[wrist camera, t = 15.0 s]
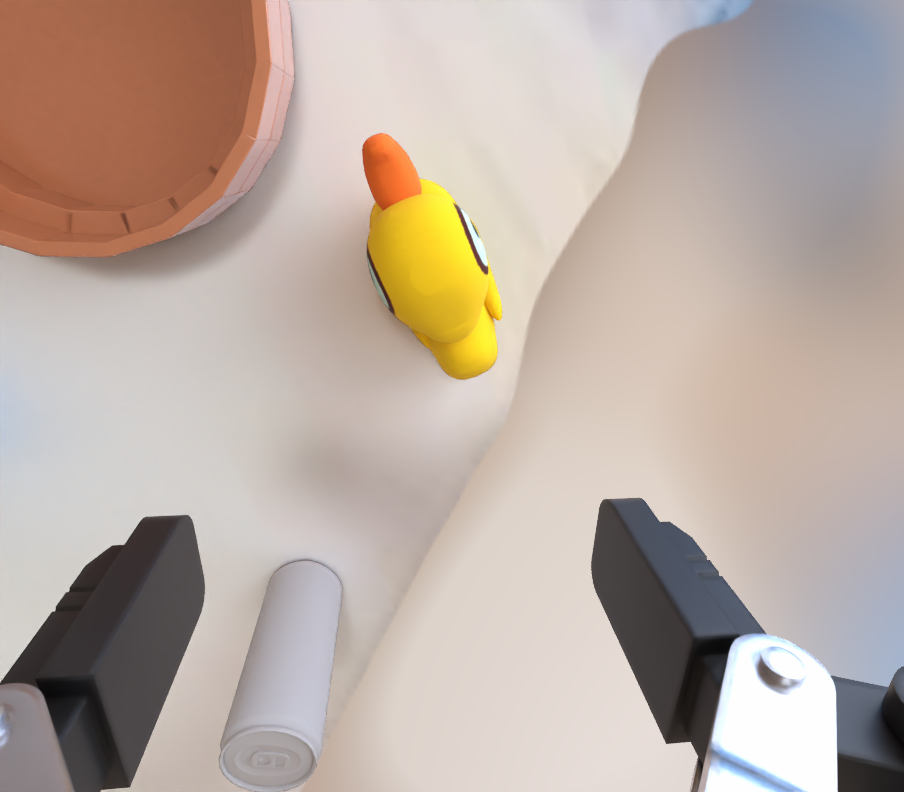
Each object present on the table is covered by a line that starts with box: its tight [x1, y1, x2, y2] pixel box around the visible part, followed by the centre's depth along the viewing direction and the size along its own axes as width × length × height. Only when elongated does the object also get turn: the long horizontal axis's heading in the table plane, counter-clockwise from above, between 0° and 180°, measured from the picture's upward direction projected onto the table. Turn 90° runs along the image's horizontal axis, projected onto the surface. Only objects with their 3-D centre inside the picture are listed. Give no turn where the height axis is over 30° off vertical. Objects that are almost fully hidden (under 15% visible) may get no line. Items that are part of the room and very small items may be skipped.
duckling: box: [362, 133, 502, 380], centre depth 25 cm, size 11×5×10 cm, turn 22°
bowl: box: [0, 0, 295, 257], centre depth 22 cm, size 17×17×6 cm
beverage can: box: [219, 560, 342, 792], centre depth 32 cm, size 5×5×12 cm
